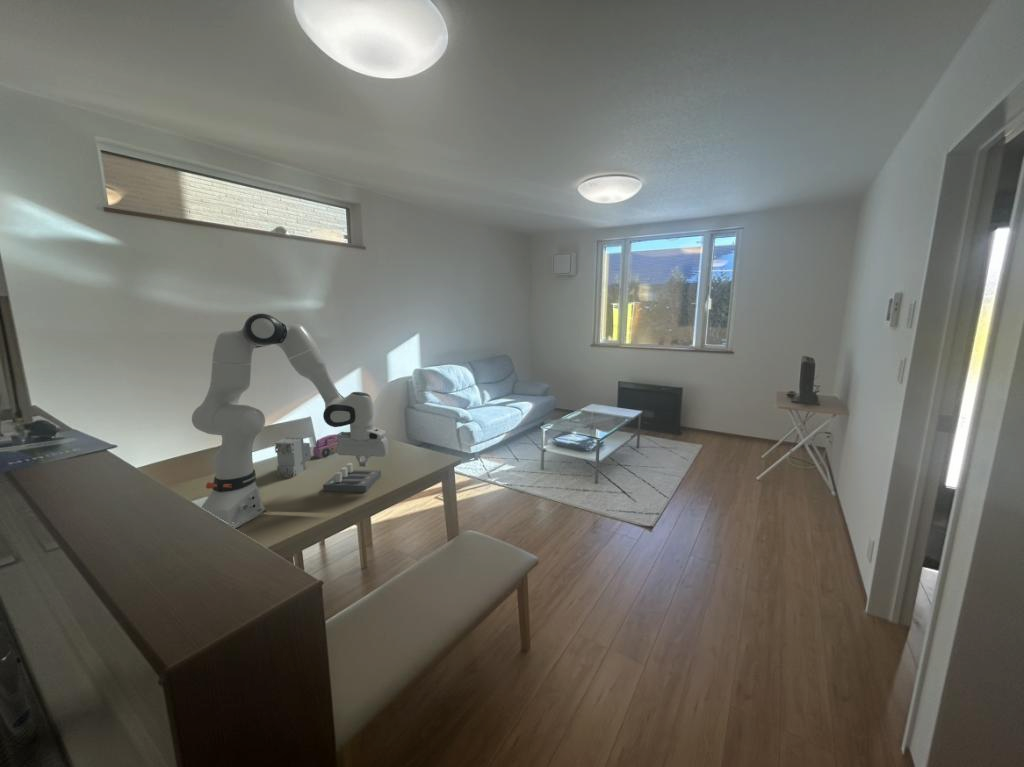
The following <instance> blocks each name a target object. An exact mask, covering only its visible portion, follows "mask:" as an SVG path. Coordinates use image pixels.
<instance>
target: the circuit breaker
mask: <svg viewBox="0 0 1024 767" xmlns="http://www.w3.org/2000/svg"><path fill="white" fill-rule="evenodd" d="M274 444H275V446H274V451H275V454H276V456H277V464H278V465H277V466H276V470H277V471H276V472H277V474H278V475H277V476H278V477H282V478H283V477H284V478H295V477H297V476H299V475H300V474H301V473H303V472H304V471H306V469H307V468H306V463H307V462H308V461H309V460H312V459H311V458H312V456H311V449H312V448H311V445H310V444H311V443H310V442H304V437H291V436H290V437H289V436H288V437H287V436H286V437H284V438H282V439H280V440H278V441H276V442H274Z"/></svg>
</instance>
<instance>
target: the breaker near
mask: <svg viewBox="0 0 1024 767" xmlns="http://www.w3.org/2000/svg"><path fill="white" fill-rule="evenodd" d="M334 476H335V480H336V482H341V481H342V472H340V471H336V472H335V473H334Z"/></svg>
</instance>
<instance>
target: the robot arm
mask: <svg viewBox="0 0 1024 767" xmlns="http://www.w3.org/2000/svg"><path fill="white" fill-rule="evenodd" d="M272 345H275V346H277V347H279V348H280V349H282V351H283V353H284V354H285V356H286V357H287V360H288V361H289V363H290V364H291V367H292V368H293V369H294V370H295V371H296V373H298V374H299V376H302V377H303V378H306V379H308V380H309V381H310V382H312V384H313V385H314V386H315V388H316V389H317V391H318V394H320V396H321V398H322V399H323V402H324V405H325V407H324V410H323V414H322V417H323V421H324V423H326V425H327V426H329V427H332V428H339V427H341V428H342V427H345V426H348V425H349V430H350V431H345V432H344V431H341V432H339V433H337V434H338V435H337V441H338V443H337V453H336V454H338V455H339V456H351V457H352V456H354V457H355V459H356V461H357V462H358V467H366V468H367V466H368V464H369V460H370V458H371V457H375V458H376V457H381V458H383V457H386V456H387V455H388V454H389V450H390V449H389V441H388V439H387V438H388V437H386V435H387V432H386V430H384V429H381V428H379V427H376V426H375V424H374V421H373V417H374V405H373V404H374V403H373V399H372V397H371V396H370V394H368V393H366V392H364V391H363V392H361V391H353V392H351V393H349V394H348V395H347V396H345V397H344V396H343V395H342V394H341V393H340V392H339V391H338V389H337V388H336V386H335V384H334V382H333V380H332V378H331V377H330V375H329V373H328V370H327V365H326V363H325V359H324V356H323V354H322V352H321V350H320V347H318V344H317V343H316V341H315V339H314V338H313V336H312V335H311V334H310V332H309V331H308V330H307V328H306V327H305V326H304V325H302V324H299V323H291V324H287V325H286V324H285V323H283V322H282V321H280V320H278V319H277V318H276V317H274V316H272V315H270V314H267V313H256V314H253V315H251V316H249V317H248V318H247V320H246V321H245V323H244V324H243V327H242V328H241V330H238V331H237V330H227V331H223V332H221V333H220V334H218V335H217V337H216V340H215V344H214V348H213V353H212V360H211V361H212V363H211V374H210V375H211V376H210V384H209V385H210V386H209V388H208V391H207V394H206V395H205V398H204V400H203V402H202V403H201V404H200V405H199V406H198V407H197V408H195V410H194V411H193V413H192V416H191V422H192V426H194V428H195V429H196V430H198V431H200V432H203V433H205V434H208V435H215V436H221V438H222V439H221V445H220V448H219V449H218V450H216V451H215V452H214V454H213V465H214V466H213V467H214V472H215V474H214V475H215V476H214V477H213V482H206V485H205V488H206V489H212V491H211V492H210V494H209V495H208V497H207V499H206V500H205V501H204V503H203V504H202V505H201V507H202V508H204V509H205V510H207V511H209V512H211V513H212V514H214V515H215V516H217V517H219V518H220V519H222V520H224V521H226V522H227V523H229V524H230V525H232V526H233V527H234V528H235V529H237V528H239V527H241V526H242V525H244V524H246V523H248V522H250V521H251V520H253V519H254V518H257V517H259V516H260V515H262V514H264V513H265V512H266V507H265V506H263V505H264V504H263V501H262V497H261V492H260V489H259V487H258V486H257V482H256V480H257V474H256V470H255V469H254V463H253V460H254V459H253V445H254V443H255V439H256V438H257V436H258V435H259V434H260V433H261V432H262V431H263V429H264V428H265V424H266V417H265V414H264V413H263V412H262V411H261V410H260V409H258V408H256V407H254V406H250V405H246V404H239V400H240V398H241V396H242V394H243V393H244V392H246V391H247V390H248V389H249V388H250V385H251V375H252V374H251V373H252V356H253V352H254V349H257V348H265V347H269V346H272ZM362 457H364V459H365V460H362ZM232 522H235V523H234V524H232Z"/></svg>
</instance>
